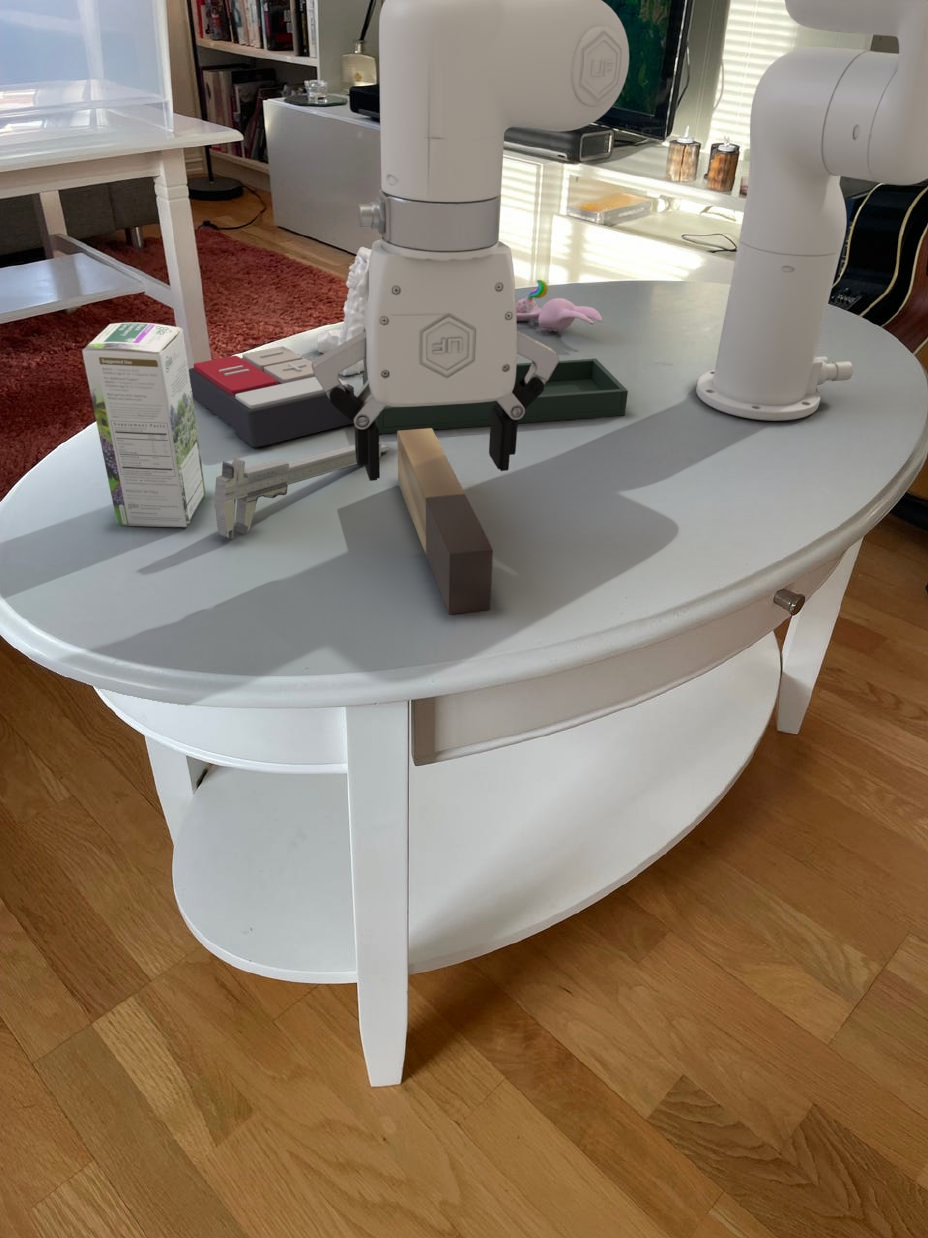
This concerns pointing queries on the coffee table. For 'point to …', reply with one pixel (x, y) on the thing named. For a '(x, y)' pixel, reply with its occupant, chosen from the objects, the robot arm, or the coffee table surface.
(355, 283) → the sitting furry creature
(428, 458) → the two-tone wooden beam
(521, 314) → the rabbit figure
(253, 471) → the caliper
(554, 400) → the tray
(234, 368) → the calculator
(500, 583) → the coffee table surface
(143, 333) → the syrup box
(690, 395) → the coffee table surface
